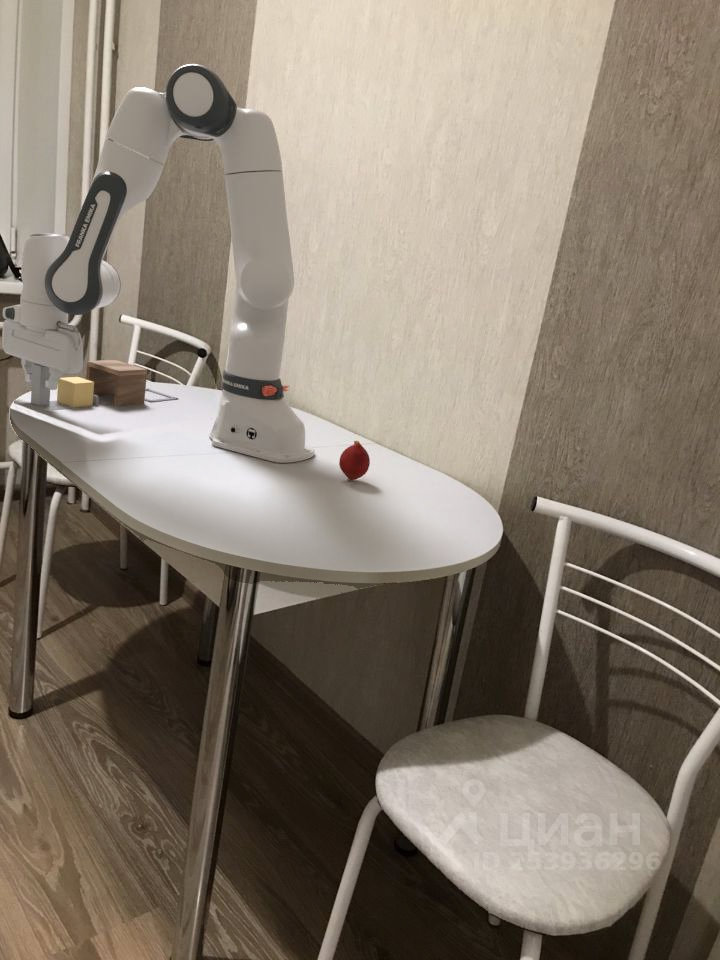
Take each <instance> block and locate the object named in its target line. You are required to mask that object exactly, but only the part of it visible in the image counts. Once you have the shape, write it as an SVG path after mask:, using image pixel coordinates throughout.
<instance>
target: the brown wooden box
mask: <svg viewBox="0 0 720 960" xmlns="http://www.w3.org/2000/svg"><path fill="white" fill-rule="evenodd" d="M147 376H148V369H147V368H143V367H140V366H137V365H134V364H131V363H127V362H124V361H120V360H117V359H103V360H102V359H101V360H87V362H86V374H85V379H86V380H89V381H92V382H94V391H93V394H94V395H97V396H108V395H114V397H113V406H115V407H122V406H132V405H141V404H145V398H146V391H145V389H147V388H146V387H147Z"/></svg>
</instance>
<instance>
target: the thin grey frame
mask: <svg viewBox="0 0 720 960" xmlns="http://www.w3.org/2000/svg"><path fill="white" fill-rule="evenodd" d="M145 392H149V393H150V392H151V393H153V394H156V395H160V396H162V397H165V398H156V399H150V398H146V397H145V400H144V402H148V403H157V402H159V403H160V402H168V401H175V400H179V398H178V397H176V396H172V395H170V394H166V393H164V392H160V391H157V390H153V389H151V388H146V389H145Z"/></svg>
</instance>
